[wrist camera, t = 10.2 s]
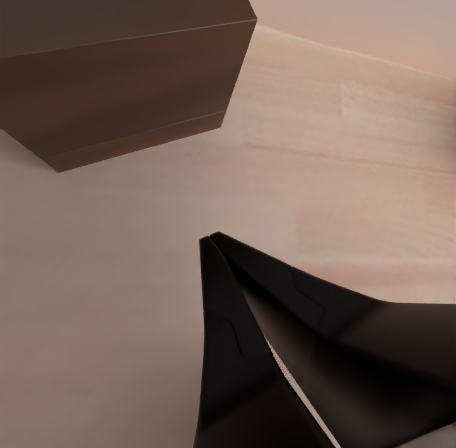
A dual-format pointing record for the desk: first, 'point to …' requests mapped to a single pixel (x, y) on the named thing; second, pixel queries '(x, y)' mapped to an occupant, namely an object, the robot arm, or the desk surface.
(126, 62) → the walnut bookend
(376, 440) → the robot arm
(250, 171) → the desk surface
